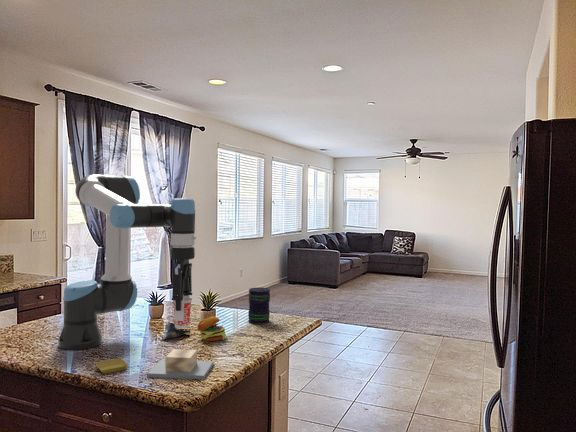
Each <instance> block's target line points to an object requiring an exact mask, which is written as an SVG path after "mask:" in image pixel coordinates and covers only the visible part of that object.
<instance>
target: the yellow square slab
mask: <svg viewBox="0 0 576 432" xmlns="http://www.w3.org/2000/svg"><path fill="white" fill-rule="evenodd" d="M94 364H95V365H96V367H97V368H98V369H99V371H100V372H101V373H102V374H103V375H105V374H112V373H115V372H120V371H121V372H122V371H126V370H127V368H128V367H129V364H128V363H127V362H126V361H125V360H124V358H123V357H118V358H113V359H112V358H111V359H106V360H101V361H96V362H94Z"/></svg>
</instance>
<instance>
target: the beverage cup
mask: <svg viewBox="0 0 576 432" xmlns="http://www.w3.org/2000/svg"><path fill="white" fill-rule="evenodd" d="M183 300H184V321H174V324H175V328H177V329H178V330H180V329H181V330H184V329H188V328H190V323H191V322H190V320H191V308H192V302H193V298H192V297H190V298H188V297H183ZM172 303H173V319H174V318H175V300H172Z"/></svg>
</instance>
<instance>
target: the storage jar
mask: <svg viewBox="0 0 576 432" xmlns="http://www.w3.org/2000/svg"><path fill="white" fill-rule="evenodd" d="M270 292H271V290H270V288H269V287H251V288H248V302H249V303H248V313H247V314H248V323H249V324H251V325H266V324H269V323H270V301H271V298H270V297H271V295H270Z"/></svg>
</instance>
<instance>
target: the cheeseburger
mask: <svg viewBox="0 0 576 432" xmlns="http://www.w3.org/2000/svg"><path fill="white" fill-rule="evenodd" d="M220 321H221V320H220V318H219V317H217V316H213V315H212V316H210V317H206V318H203V319H201V320H200V321H199V322H198V324H197V331H199V332H200V337H201V338H202V339H201V340H203V341H204V342H205V341H206V342H215V341H220V340H222V341H224V340H225V339H226V337H227V334H226V328H225V327H224V326H223V325H219V322H220Z"/></svg>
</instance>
